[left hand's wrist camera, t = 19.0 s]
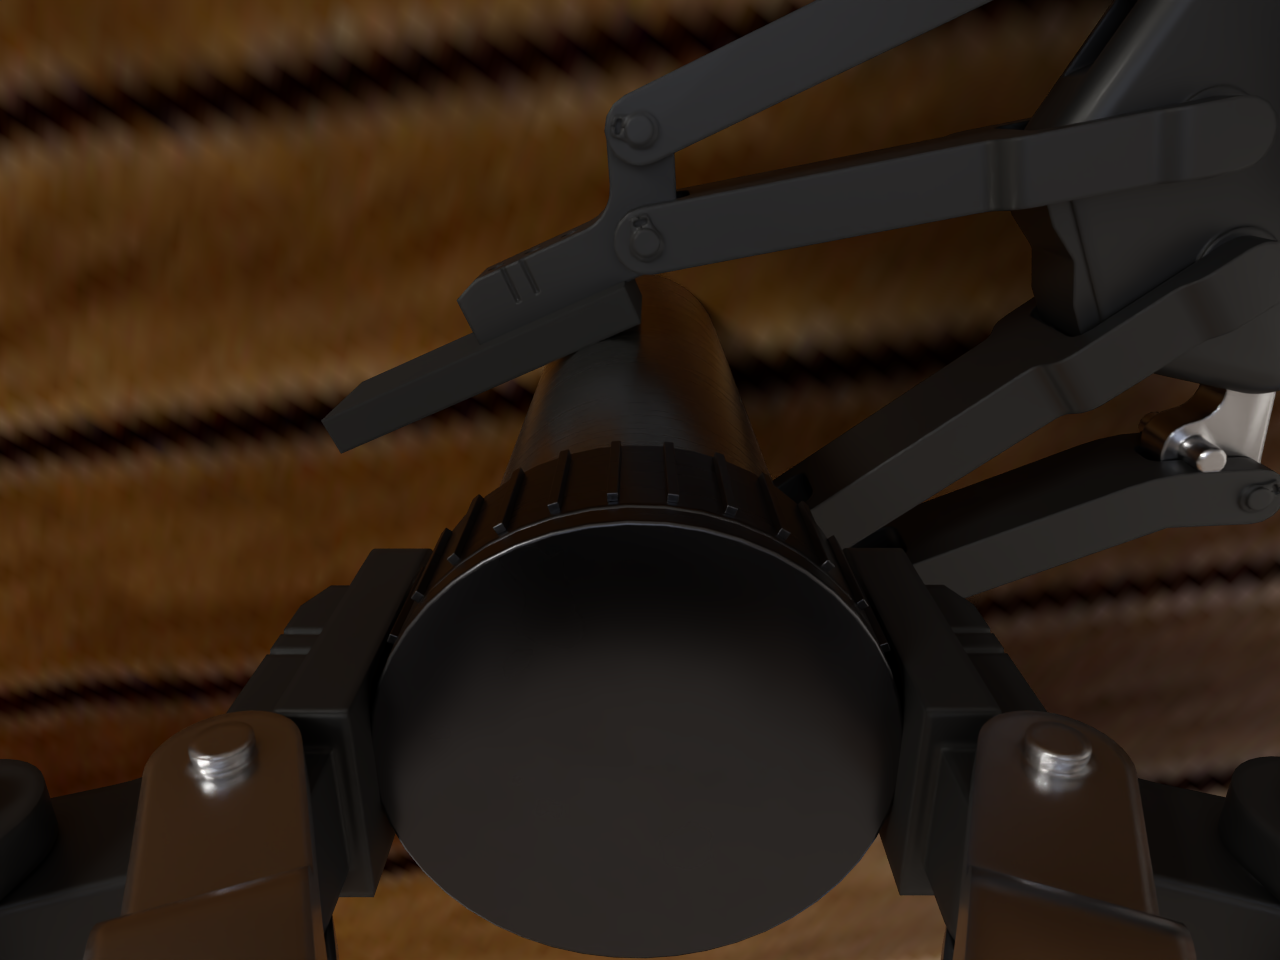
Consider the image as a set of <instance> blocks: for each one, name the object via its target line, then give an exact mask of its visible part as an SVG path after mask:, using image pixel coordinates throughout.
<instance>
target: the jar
mask: <svg viewBox="0 0 1280 960" xmlns="http://www.w3.org/2000/svg"><path fill="white" fill-rule="evenodd" d="M635 281H636V283H637V285H638V288H639V290H640V292H641V294H642V310H641V324H638V325H636V326H634V327H632V328H629V329H627V330H625V331H622V332H620V333H618V334H615V335H613V336H611V337H609V338H606V339H604V340H602V341H599V342H597V343H594V344H591V345H589V346H587V347H585V348H583V349H581V350H579V351H576V352H574V353H572V354H569V355H567V356H565V357H563V358H560V359H558V360H556V361H553V362H551V363H549V364H546V365H545V368H544V370H543V373H542V376H541V378H540V381H539V384H538V386H537V389H536V392H535V394H534V397H533V400H532V402H531V405H530V408H529V410H528V413H527V416H526V418H525V421H524V424H523V426H522V429H521V432H520V434H519V437H518V440H517V442H516V445H515V447H514V450H513V453H512V455H511V458H510V461H509V463H508V466H507V469H506V471H505V474H504V477H503V479H502V482H501V485H503V484H504V483H506V482H507V481H509V480H510V479H511V476H512V473H513V471H515V470H517V469H519V468H522V470H523V471H524V472H526V471H528V470H530V469H532V468H534V467H535V466H537V465H540V464H543V463H546V462H548V461H551V460H554V459H557V458H559V454H560V451H564V450H567V449H569V451H570V453H571V454H573V453H578V452H582V451H587V450H592V449H596V448H605V447H611V442H612V441H621V446H626V445H639V446H663V444H664V442H672V443H674V448H676V449H682V450H689V451H694V452H697V453H701V454H704V455H708V456H711V457H713V456H714V454H715V452H717V453H720V454H723V455H724V456H725V460H726V461H727V462H729V463H731V464H734V465H736V466H738V467H740V468H743V469H745V470H747V471H750V472H752V473H753V474H755V475H757V476H758V477H759V476H760V474H761V473H762V472H763V473H765V474H767V475H768V476H770V474H769V471H768V468H767V466H766V463H765V460H764V458H763V455H762V453H761V450H760V447H759V445H758V442H757V439H756V437H755V434H754V431H753V429H752V426H751V423H750V421H749V418H748V415H747V413H746V410H745V407H744V405H743V402H742V399H741V397H740V394H739V391H738V389H737V386H736V383H735V381H734V378H733V375H732V373H731V370H730V368H729V365H728V362H727V360H726V357H725V354H724V352H723V349H722V346H721V344H720V341H719V338H718V336H717V333H716V330H715V328H714V325H713V323H712V321H711V318H710V316H709V315H708V313H707V311H706V310H705V308H704V307H703V305H702V304H701V303H700V302H699V301H698V299H697V298H696V297H695V296H693V295H692V294H691V293H690V292H689V291H688V290H686V289H685V288H684V287H682V286H681V285H679V284H677V283H675V282H673V281H671V280H669V279H666V278H663V277H661V276H656V275H642V276H640V277H637V278H635ZM770 478H771V476H770ZM771 481H772V479H771ZM772 484H773V482H772ZM501 485H500V486H501ZM773 486H774V484H773Z"/></svg>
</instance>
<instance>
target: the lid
mask: <svg viewBox="0 0 1280 960" xmlns="http://www.w3.org/2000/svg"><path fill="white" fill-rule="evenodd" d="M387 642H388V643H391V644H393V645H394V646H393V648H392V650H391V652H390V654H389V657H388V659H387V661H386V664H385V666H384V669H383V671H382V674H381V676H380V678H379V681H378V684H377V688H376V692H375V697H374V701H373V705H372V710H371V733H372V743H373V750H374V757H375V765H376V772H377V780H378V787H379V793H380V799H381V804H382V806H383V808H384V811H385V813H386V815H387V818H388V820H389V822H390V825H391V826H392V828H393V830H394V831H395V833H396V835H397V836H398V838H399V839H400V841H401V843H402V844H403V846H404V848H405V849H406V850H407V852H408V853H409V854H410V855H411V857H412V858H413V859H414V860H415V862H416V863H417V864H418V865H419V866H420V868H421V869H422V870H423V871H424V872H425V873H426V874H427V875H428V876H429V877H430V878H431V879H432V880H433V881H434V882H435V883H436V884H437V885H438V886H439V887H440V888H441V889H442V890H444V891H445V892H446V893H447V894H448V895H450V896H451V897H453V898H454V899H455V900H457V901H458V902H459V903H461V904H462V905H463V906H465V907H466V908H467V909H469V910H470V911H472V912H474V913H475V914H477V915H479V916H481V917H482V918H484V919H486V920H487V921H489V922H491V923H493V924H494V925H496V926H499V927H501V928H503V929H505V930H507V931H510V932H512V933H514V934H516V935H519V936H521V937H523V938H526V939H529V940H532V941H535V942H539V943H542V944H545V945H548V946H551V947H555V948H559V949H564V950H568V951H573V952H577V953H582V954H589V955H598V956H606V957H618V958H654V957H668V956H679V955H684V954H690V953H696V952H702V951H708V950H711V949H715V948H718V947H722V946H726V945H729V944H733V943H737V942H739V941H742V940H745V939H747V938H750V937H752V936H755V935H758V934H760V933H763V932H765V931H767V930H769V929H771V928H773V927H775V926H777V925H779V924H781V923H783V922H785V921H787V920H789V919H791V918H793V917H794V916H796V915H797V914H799V913H800V912H802V911H803V910H805V909H806V908H808V907H809V906H811V905H812V904H814V903H815V902H817V901H818V900H819V899H821V898H822V897H823V896H824V895H825V894H826V893H828V892H829V891H830V890H831V889H832V888H834V887H835V886H836V885H837V884H838V883H840V882H841V880H842V879H843V878H844V877H845V876H846V875H847V874H848V873H849V872H850V871H851V870H852V869H853V868H854V866H855V865H856V864H857V863H858V862H859V861H860V860H861V858H862V857H863V856H864V854H865V853H866V851H867V850H868V848H869V847H870V846H871V844H872V843H873V841H874V840H875V839H876V837H877V835H878V833H879V831H880V829H881V827H882V825H883V824H884V822H885V820H886V818H887V816H888V814H889V812H890V809H891V806H892V803H893V800H894V794H895V788H896V781H897V773H898V766H899V758H900V751H901V743H902V734H903V713H902V706H901V700H900V695H899V692H898V689H897V686H896V683H895V680H894V676H893V673H892V670H891V668H890V665H889V663H888V661H887V659H886V657H885V655H884V653H885V652H888V651H890V647H889V644H888V642H887V640H886V638H885V636H884V633H883V631H882V629H881V627H880V625H879V623H878V621H877V619H876V617H875V615H874V612H873V610H872V608H871V606H870V604H869V602H868V600H867V598H866V596H865V594H864V592H863V589H862V587H861V585H860V583H859V581H858V579H857V577H856V575H855V574H853V572H852V570H851V568H850V565H849V563H848V561H847V559H846V557H845V555H844V553H843V551H842V549H841V546H840V544H839V542H838V540H837V539H836V538H835V536H834V535H832V536H831V537H829V538H827V537H826V536H825V534H824V533H823V531H822V530H821V528H820V527H819V526H818V525H817V524H816V522H815V520H814V517H813V515H812V513H811V511H810V508H809V506H808V505H807V504H806V503H805V502H804V501H801V502H800V503H799V504H797V503H796V502H794V501H793V500H792V499H791V498H789V497H788V496H787V495H786V494H784V493H783V492H782V491H781V490H779V489H778V488H777V487H775V486H773V484H772V481H771V478H770V476H768V475H767V474H765V473H763V472H762V473H761V474H760V476H759V477H758V476H757V475H755V474H753V473H752V472H750V471H747V470H745V469H743V468H740V467H738V466H736V465H734V464H731V463H729V462H727V461H726V460H725V456H724V455H723V454H720V453H717V452H715V454H714V456H713V457H711V456H708V455H704V454H701V453H697V452H694V451H689V450H682V449H676V448H674V443H672V442H664V444H663V446H639V445H626V446H621V441H612V442H611V447H605V448H596V449H592V450H587V451H582V452H578V453H573V454H571V453H570V451H569V449H567V450H564V451H560V454H559V458H557V459H554V460H551V461H548V462H546V463H543V464H540V465H537V466H535V467H534V468H532V469H530V470H528V471H526V472H524V471H523V470H522V468H519V469H517V470H515V471H513V473H512V476H511V479H510V480H509V481H507V482H506V483H504V484H503V485H501V486H500V487H499V488H497V489H496V490H494V491H493V492H491V493H490V494H488V495H487V496H486V497H485V498H483V497H482V496H481V495H480V494H479V495H478V496H476V497H475V498H474V499H473V500H472V503H471V505H470V507H469V510H468V512H467V514H466V515H465V516H464V517H463V519H462V520H461V521H460V522H459V523H458V525H457V526H456V527H455V528H454V530H453V531H450V530H449V529H447V528H445V530H444V531H443V532H442V534H441V536H440V538H439V540H438V542H437V544H436V546H435V548H434V550H433V553H432V555H431V557H430V559H429V561H428V563H427V565H426V567H424V566H423V567H422V569H421V571H420V573H419V575H418V577H417V579H416V581H415V583H414V585H413V587H412V589H411V591H410V593H409V596H408V598H407V600H406V602H405V604H404V606H403V608H402V610H401V612H400V614H399V616H398V618H397V620H396V622H395V624H394V626H393V628H392V630H391V633H390V635H389V637H388V639H387Z"/></svg>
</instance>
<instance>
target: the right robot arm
mask: <svg viewBox="0 0 1280 960" xmlns="http://www.w3.org/2000/svg"><path fill="white" fill-rule="evenodd" d="M990 1H992V0H816V1H814V2H812V3H810V4H808V5H806V6H804V7H802V8H800V9H798V10H796V11H794V12H792V13H790V14H788V15H786V16H784V17H782V18H780V19H778V20H776V21H774V22H772V23H770V24H768V25H766V26H764V27H762V28H759V29H757V30H755V31H753V32H751V33H749V34H747V35H745V36H743V37H741V38H739V39H737V40H735V41H733V42H731V43H729V44H727V45H725V46H723V47H721V48H719V49H717V50H715V51H713V52H711V53H709V54H707V55H705V56H703V57H701V58H699V59H697V60H695V61H693V62H691V63H689V64H687V65H685V66H683V67H681V68H679V69H677V70H675V71H673V72H671V73H669V74H667V75H665V76H663V77H661V78H659V79H657V80H655V81H653V82H650V83H648V84H646V85H644V86H642V87H640V88H638V89H636V90H634V91H632V92H630V93H628V94H626V95H624V96H623V97H622V98H621V99H619V100H618V101H617V102H615V103H614V104H613V106H612V108H611V109H610V111H609V113H608V115H607V117H606V124H605V135H606V139H607V152H608V166H609V179H610V197H609V200H608V204H607V206H606V207H605V209H604V210H603V211H602V212H601V213H600V214H599V215H598V216H597V217H595V218H594V219H592V220H591V221H589V222H587V223H584V224H582V225H580V226H578V227H576V228H574V229H571V230H569V231H567V232H565V233H563V234H560V235H558V236H556V237H554V238H552V239H550V240H547V241H545V242H543V243H541V244H539V245H537V246H534V247H532V248H530V249H528V250H526V251H523V252H521V253H519V254H517V255H515V256H513V257H511V258H508V259H506V260H504V261H502V262H499V263H497V264H495V265H493V266H491V267H489V268H487V269H486V270H485V271H484V272H483V273H482V274H481V275H480V276H479V277H478V278H476V279H475V280H474V282H473V283H472V284H471V285H470V286H469V287H468V288H467V289H466V290H465V292H464V293H463V294H462V295H461V296H460V297H459V298H458V299H457V302H458V304H459V306H460V308H461V310H462V312H463V314H464V315H465V317H466V319H467V321H468V323H469V325H470V327H471V329H472V331H473V333H471V334H469V335H466V336H464V337H462V338H460V339H457V340H455V341H453V342H451V343H448V344H446V345H444V346H442V347H440V348H437V349H435V350H433V351H431V352H428V353H426V354H424V355H422V356H419V357H417V358H415V359H413V360H410V361H408V362H406V363H404V364H402V365H399V366H397V367H395V368H393V369H390V370H388V371H386V372H384V373H381V374H379V375H377V376H375V377H372V378H370V379H368V380H366V381H364V382H362V383H361V384H360V385H359V386H358V387H356V388H355V389H354V390H353V391H352V392H351V393H350V394H349V395H348V396H347V397H346V398H345V399H344V400H343V401H342V402H341V403H340V404H338V405H337V406H336V407H335V408H334V409H333V410H332V411H331V412H330V413H329V414H328V415H327V416H326V417H325V418H324V419H323V420H322V423H323V424H324V426H325V428H326V429H327V431H328V433H329V434H330V436H331V438H332V439H333V441H334V443H335V444H336V446H337V448H338V449H339V451H340V453H344V452H346V451H348V450H351V449H353V448H355V447H358V446H360V445H362V444H364V443H367V442H369V441H371V440H374V439H376V438H378V437H381V436H383V435H385V434H388V433H390V432H392V431H394V430H397V429H399V428H401V427H404V426H406V425H408V424H411V423H413V422H415V421H417V420H420V419H422V418H424V417H427V416H429V415H431V414H434V413H436V412H438V411H440V410H443V409H445V408H447V407H450V406H452V405H454V404H457V403H459V402H461V401H463V400H466V399H468V398H470V397H473V396H475V395H477V394H480V393H482V392H484V391H487V390H489V389H491V388H493V387H496V386H498V385H500V384H503V383H505V382H507V381H510V380H512V379H514V378H516V377H519V376H521V375H523V374H526V373H528V372H530V371H533V370H535V369H537V368H539V367H542V366H544V365H546V364H549V363H551V362H553V361H556V360H558V359H560V358H563V357H565V356H567V355H569V354H572V353H574V352H576V351H579V350H581V349H583V348H585V347H587V346H589V345H591V344H594V343H597V342H599V341H602V340H604V339H606V338H609V337H611V336H613V335H615V334H618V333H620V332H622V331H625V330H627V329H629V328H632V327H634V326H636V325H638V324H641V310H642V294H641V292H640V290H639V288H638V285H637V283H636V281H635V278H637V277H640V276H642V275H654V274H659V273H664V272H670V271H675V270H680V269H685V268H691V267H696V266H701V265H707V264H712V263H717V262H723V261H728V260H733V259H738V258H744V257H749V256H754V255H760V254H765V253H770V252H775V251H781V250H786V249H791V248H797V247H802V246H807V245H812V244H818V243H823V242H828V241H834V240H839V239H844V238H850V237H855V236H860V235H865V234H871V233H876V232H881V231H887V230H892V229H897V228H902V227H908V226H913V225H918V224H924V223H929V222H934V221H940V220H945V219H950V218H955V217H961V216H966V215H971V214H977V213H982V212H989V211H1010V210H1011V213H1012V216H1013V217H1014V219H1015V220H1016V222H1017V224H1018V225H1019V227H1020V228H1021V230H1022V232H1023V233H1024V235H1025V236H1026V238H1027V240H1028V241H1029V243H1030V245H1031V247H1032V290H1033V293H1034V297H1033V298H1032V299H1030V300H1029V301H1027V302H1026V303H1024V304H1023V305H1021V306H1020V307H1018V308H1017V309H1015V310H1014V311H1012V312H1011V313H1009V314H1008V315H1006V316H1005V317H1004V318H1002V319H1001V320H1000V321H998V323H997V324H996V325H995V326H994V327H993V330H992V332H991V335H990V336H989V337H988V338H987V339H986V340H984V341H983V342H981V343H980V344H978V345H977V346H975V347H974V348H972V349H971V350H969V351H968V352H966V353H965V354H963V355H962V356H960V357H959V358H957V359H956V360H954V361H953V362H951V363H950V364H948V365H947V366H945V367H944V368H942V369H941V370H939V371H938V372H936V373H935V374H933V375H932V376H930V377H929V378H927V379H926V380H924V381H923V382H921V383H919V384H918V385H916V386H915V387H913V388H912V389H910V390H909V391H907V392H906V393H904V394H903V395H901V396H900V397H898V398H897V399H895V400H894V401H892V402H891V403H889V404H888V405H886V406H885V407H883V408H882V409H880V410H879V411H877V412H876V413H874V414H873V415H871V416H870V417H868V418H867V419H865V420H864V421H862V422H861V423H859V424H858V425H856V426H855V427H853V428H852V429H850V430H849V431H847V432H845V433H844V434H842V435H841V436H839V437H838V438H836V439H835V440H833V441H832V442H830V443H829V444H827V445H826V446H824V447H823V448H821V449H820V450H818V451H817V452H815V453H814V454H812V455H811V456H809V457H808V458H806V459H805V460H803V461H802V462H800V463H799V464H797V465H796V466H794V467H793V468H791V469H790V470H788V471H787V472H785V473H784V474H782V475H781V476H779V477H778V478H776V479H774V480H773V481H772V482H773V484H774V486H775V487H777V488H778V489H779V490H781V491H782V492H783V493H784V494H786V495H787V496H788V497H789V498H791V499H792V500H793V501H794V502H796V503H797V504H799V503H800V502H801V501H804V502H805V503H806V504H807V505H808V506H809V508H810V511H811V513H812V515H813V517H814V520H815V522H816V524H817V525H818V526H819V527H820V528H821V530H822V531H823V533H824V534H825V536H826V537H827V538H829V537H831V536H832V535H834V536H835V538H836V539H837V540H838V542H839V544H840V546H841V549H842V550H843V549H844V548H902V549H903V550H904V552H905V553H906V555H907V556H908V558H909V560H910V561H911V563H912V565H913V566H914V568H915V569H916V571H917V573H918V574H919V576H920V578H921V579H922V581H923V583H924V584H925V585H945V586H947V587H948V588H950V589H951V590H953V591H954V592H955V593H957V594H958V595H960V596H961V597H963V598H967V597H969V596H972V595H975V594H978V593H981V592H984V591H987V590H990V589H993V588H995V587H998V586H1001V585H1004V584H1007V583H1010V582H1013V581H1016V580H1018V579H1021V578H1024V577H1027V576H1030V575H1033V574H1036V573H1039V572H1041V571H1044V570H1047V569H1050V568H1053V567H1056V566H1059V565H1062V564H1064V563H1067V562H1070V561H1073V560H1076V559H1079V558H1082V557H1085V556H1087V555H1090V554H1093V553H1096V552H1099V551H1102V550H1105V549H1108V548H1110V547H1113V546H1116V545H1119V544H1122V543H1125V542H1128V541H1131V540H1133V539H1136V538H1139V537H1142V536H1145V535H1148V534H1151V533H1154V532H1156V531H1159V530H1162V529H1165V528H1172V527H1194V526H1216V525H1238V524H1252V523H1257V522H1262V521H1264V520H1266V519H1267V518H1269V517H1271V516H1273V515H1274V514H1275V513H1276V512H1277V511H1278V510H1279V509H1280V475H1279V474H1277V473H1276V472H1274V471H1273V470H1271V469H1269V468H1267V467H1266V466H1264V465H1262V464H1261V456H1262V452H1263V447H1264V443H1265V438H1266V434H1267V429H1268V425H1269V420H1270V416H1271V411H1272V407H1273V402H1274V398H1275V393H1276V391H1279V390H1280V0H1113V2H1112V3H1111V5H1110V6H1109V8H1108V9H1107V11H1106V12H1105V13H1104V15H1103V16H1102V18H1101V19H1100V21H1099V22H1098V23H1097V25H1096V26H1095V28H1094V29H1093V31H1092V32H1091V33H1090V35H1089V36H1088V38H1087V39H1086V41H1085V42H1084V44H1083V45H1082V46H1081V48H1080V49H1079V51H1078V52H1077V54H1076V55H1075V56H1074V58H1073V59H1072V61H1071V62H1070V64H1069V65H1068V67H1067V68H1066V69H1065V71H1064V72H1063V74H1062V75H1061V77H1060V78H1059V79H1058V81H1057V82H1056V84H1055V85H1054V87H1053V88H1052V89H1051V91H1050V92H1049V94H1048V95H1047V97H1046V98H1045V99H1044V101H1043V102H1042V104H1041V105H1040V107H1039V108H1038V109H1037V111H1036V112H1035V114H1034V115H1033V117H1032V118H1027V119H1022V120H1017V121H1012V122H1007V123H1002V124H997V125H992V126H987V127H982V128H976V129H971V130H966V131H962V132H957V133H953V134H950V135H948V136H945V137H941V138H936V139H931V140H926V141H921V142H916V143H911V144H906V145H901V146H896V147H891V148H885V149H880V150H875V151H870V152H865V153H860V154H855V155H850V156H845V157H840V158H835V159H829V160H824V161H819V162H814V163H809V164H804V165H799V166H794V167H789V168H784V169H778V170H773V171H768V172H763V173H758V174H753V175H748V176H743V177H738V178H733V179H728V180H722V181H717V182H712V183H707V184H702V185H697V186H692V187H687V188H682V189H677V190H676V181H675V160H674V153H675V152H677V151H679V150H681V149H683V148H685V147H687V146H689V145H692V144H694V143H696V142H698V141H700V140H702V139H704V138H706V137H708V136H710V135H712V134H715V133H717V132H719V131H721V130H723V129H725V128H727V127H729V126H731V125H733V124H735V123H738V122H740V121H742V120H744V119H746V118H748V117H750V116H752V115H754V114H756V113H758V112H760V111H763V110H765V109H767V108H769V107H771V106H773V105H775V104H777V103H779V102H781V101H783V100H786V99H788V98H790V97H792V96H794V95H796V94H798V93H800V92H802V91H804V90H806V89H809V88H811V87H813V86H815V85H817V84H819V83H821V82H823V81H825V80H827V79H829V78H832V77H834V76H836V75H838V74H840V73H842V72H844V71H846V70H848V69H850V68H852V67H854V66H857V65H859V64H861V63H863V62H865V61H867V60H869V59H871V58H873V57H875V56H877V55H880V54H882V53H884V52H886V51H888V50H890V49H892V48H894V47H896V46H898V45H900V44H903V43H905V42H907V41H909V40H911V39H913V38H915V37H917V36H919V35H921V34H923V33H925V32H928V31H930V30H932V29H934V28H936V27H938V26H940V25H942V24H944V23H946V22H948V21H951V20H953V19H955V18H957V17H959V16H961V15H963V14H965V13H967V12H969V11H971V10H974V9H976V8H978V7H980V6H982V5H984V4H986V3H988V2H990ZM1153 373H1154V374H1159V375H1163V376H1168V377H1172V378H1177V379H1181V380H1186V381H1191V382H1195V383H1200V385H1199V388H1198V389H1197V391H1196V392H1195V394H1194V395H1193V396H1192V397H1191V398H1190V399H1189V400H1188V401H1187V402H1185V403H1183V404H1182V405H1180V406H1178V407H1175V408H1171V409H1168V410H1165V411H1161V412H1160V413H1159V412H1150V413H1148V414H1146V415H1145V416H1144V417H1143V418H1142V419H1141V420H1140V423H1139V432H1140V433H1132V434H1122V435H1117V436H1112V437H1107V438H1102V439H1098V440H1095V441H1092V442H1088V443H1085V444H1082V445H1079V446H1076V447H1073V448H1071V449H1068V450H1065V451H1063V452H1060V453H1057V454H1054V455H1052V456H1049V457H1046V458H1043V459H1041V460H1038V461H1035V462H1033V463H1030V464H1027V465H1024V466H1022V467H1019V468H1016V469H1014V470H1011V471H1008V472H1005V473H1003V474H1000V475H997V476H995V477H992V478H989V479H986V480H984V481H981V482H978V483H975V484H973V485H970V486H967V487H965V488H962V489H959V490H956V491H954V492H951V493H948V494H946V495H943V496H940V497H937V498H935V499H932V500H929V501H927V502H924V503H922V502H923V501H925V500H926V499H928V498H930V497H931V496H933V495H934V494H936V493H938V492H939V491H941V490H942V489H944V488H946V487H947V486H949V485H950V484H952V483H954V482H955V481H957V480H958V479H960V478H962V477H963V476H965V475H966V474H968V473H970V472H971V471H973V470H974V469H976V468H978V467H979V466H981V465H982V464H984V463H986V462H987V461H989V460H990V459H992V458H994V457H995V456H997V455H998V454H1000V453H1002V452H1003V451H1005V450H1006V449H1008V448H1010V447H1011V446H1013V445H1014V444H1016V443H1018V442H1019V441H1021V440H1022V439H1024V438H1026V437H1027V436H1029V435H1030V434H1032V433H1034V432H1035V431H1037V430H1038V429H1040V428H1042V427H1043V426H1045V425H1046V424H1048V423H1050V422H1051V421H1053V420H1054V419H1056V418H1058V417H1060V416H1063V415H1066V414H1075V413H1084V412H1087V411H1090V410H1093V409H1095V408H1097V407H1099V406H1101V405H1103V404H1104V403H1106V402H1108V401H1109V400H1111V399H1113V398H1114V397H1116V396H1117V395H1119V394H1121V393H1122V392H1124V391H1125V390H1127V389H1129V388H1130V387H1132V386H1133V385H1135V384H1137V383H1138V382H1140V381H1141V380H1143V379H1145V378H1146V377H1148V376H1150V375H1151V374H1153ZM920 503H921V504H920Z"/></svg>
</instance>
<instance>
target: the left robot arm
mask: <svg viewBox="0 0 1280 960" xmlns="http://www.w3.org/2000/svg"><path fill="white" fill-rule="evenodd" d="M842 551H843V553H844V555H845V557H846V559H847V561H848V563H849V565H850V568H851V570H852V572H853V574H855V575H856V577H857V579H858V581H859V583H860V585H861V587H862V589H863V592H864V594H865V596H866V598H867V600H868V602H869V604H870V606H871V608H872V610H873V612H874V615H875V617H876V619H877V621H878V623H879V625H880V627H881V629H882V631H883V633H884V636H885V638H886V640H887V642H888V644H889V647H890V651H888V652H885V653H884V655H885V657H886V659H887V661H888V663H889V665H890V668H891V670H892V673H893V676H894V680H895V683H896V686H897V689H898V692H899V695H900V700H901V706H902V713H903V734H902V743H901V751H900V758H899V766H898V773H897V781H896V788H895V794H894V800H893V803H892V806H891V809H890V812H889V814H888V816H887V818H886V820H885V822H884V824H883V825H882V827H881V829H880V831H879V834H880V837H881V840H882V843H883V846H884V849H885V852H886V855H887V858H888V861H889V864H890V867H891V870H892V873H893V876H894V879H895V882H896V885H897V888H898V891H899V894H900V895H935V898H936V901H937V903H938V906H939V909H940V911H941V914H942V917H943V919H944V922H945V924H946V927H945V933H944V939H943V945H942V954H941V960H1280V757H1272V756H1270V757H1259V758H1255V759H1251V760H1248V761H1246V762H1244V763H1242V764H1240V765H1239V766H1238V767H1237V768H1236V769H1235V771H1234V773H1233V776H1232V779H1231V782H1230V785H1229V789H1228V792H1227V795H1226V797H1221V796H1216V795H1212V794H1207V793H1202V792H1197V791H1193V790H1188V789H1183V788H1178V787H1174V786H1169V785H1164V784H1159V783H1155V782H1151V781H1147V780H1143V779H1139V778H1138V777H1137V772H1136V769H1135V766H1134V764H1133V762H1132V760H1131V758H1130V757H1129V756H1128V754H1127V753H1126V752H1125V751H1124V750H1123V748H1121V747H1120V746H1119V745H1118V744H1117V743H1116V742H1115V741H1114V740H1112V739H1111V738H1109V737H1108V736H1106V735H1105V734H1104V733H1102V732H1100V731H1098V730H1097V729H1095V728H1093V727H1091V726H1089V725H1087V724H1085V723H1082V722H1080V721H1077V720H1075V719H1072V718H1069V717H1066V716H1062V715H1058V714H1054V713H1048V712H1047V711H1046V710H1045V708H1044V707H1043V705H1042V704H1041V702H1040V701H1039V699H1038V698H1037V696H1036V695H1035V693H1034V692H1033V691H1032V689H1031V688H1030V686H1029V685H1028V683H1027V682H1026V680H1025V679H1024V677H1023V676H1022V674H1021V673H1020V672H1019V670H1018V669H1017V667H1016V666H1015V664H1014V663H1013V661H1012V660H1011V658H1010V657H1009V655H1008V654H1007V653H1004V648H1003V647H1002V645H1001V644H1000V642H999V641H998V639H997V638H996V636H995V635H994V634H993V633H990V628H989V626H988V625H987V623H986V622H985V620H984V619H983V617H982V616H981V615H980V613H979V612H978V610H977V609H976V607H975V606H974V605H973V604H972V603H970V602H969V601H967V600H966V599H964V598H963V597H961V596H960V595H958V594H957V593H955V592H954V591H953V590H951V589H950V588H948V587H947V586H945V585H925V584H924V583H923V581H922V579H921V578H920V576H919V574H918V573H917V571H916V569H915V568H914V566H913V565H912V563H911V561H910V560H909V558H908V556H907V555H906V553H905V552H904V550H903V549H902V548H844V549H843V550H842ZM432 553H433V551H432V550H431V549H373V550H372V551H371V552H370V554H369V555H368V557H367V559H366V560H365V562H364V563H363V565H362V567H361V568H360V570H359V571H358V573H357V575H356V576H355V578H354V580H353V581H352V583H351V584H350V586H330V587H328V588H327V589H325V590H324V591H322V592H321V593H319V594H318V595H316V596H315V597H313V598H312V599H310V600H309V601H307V602H306V603H304V604H303V605H301V606H300V608H299V609H298V610H297V612H296V613H295V615H294V616H293V618H292V619H291V621H290V622H289V623H288V625H287V626H286V628H285V629H284V634H281V635H280V636H279V638H278V639H277V641H276V642H275V644H274V645H273V646H272V648H271V649H270V650H271V652H270V655H266V657H265V658H264V659H263V661H262V662H261V664H260V665H259V667H258V668H257V670H256V671H255V672H254V674H253V675H252V677H251V678H250V680H249V681H248V683H247V684H246V685H245V687H244V688H243V690H242V691H241V693H240V694H239V695H238V697H237V698H236V700H235V701H234V703H233V704H232V706H231V707H230V708H229V710H228V711H227V713H226V714H222V715H218V716H214V717H211V718H208V719H205V720H203V721H200V722H198V723H195V724H193V725H191V726H189V727H187V728H185V729H183V730H182V731H180V732H178V733H176V734H175V735H173V736H172V737H171V738H169V739H168V740H166V741H165V742H164V743H163V744H162V745H161V746H160V747H159V748H157V750H156V751H155V752H154V753H153V754H152V755H151V757H150V758H149V760H148V762H147V764H146V765H145V769H144V772H143V777H141V778H138V779H135V780H132V781H128V782H124V783H120V784H116V785H112V786H107V787H102V788H98V789H93V790H88V791H83V792H78V793H74V794H69V795H64V796H59V797H55V798H50V796H49V793H48V789H47V786H46V783H45V780H44V777H43V775H42V773H41V771H40V770H39V769H38V768H37V767H35V766H34V765H31V764H29V763H27V762H23V761H19V760H11V759H0V960H339V954H338V945H337V939H336V933H335V928H334V922H333V916H332V914H333V911H334V908H335V906H336V903H337V901H338V898H339V897H374V895H375V892H376V889H377V886H378V883H379V880H380V877H381V874H382V871H383V869H384V866H385V863H386V860H387V857H388V854H389V851H390V848H391V845H392V842H393V839H394V836H395V831H394V830H393V828H392V826H391V825H390V822H389V820H388V818H387V815H386V813H385V811H384V808H383V806H382V804H381V799H380V793H379V787H378V780H377V772H376V765H375V757H374V750H373V743H372V733H371V710H372V705H373V701H374V697H375V692H376V688H377V684H378V681H379V678H380V676H381V674H382V671H383V669H384V666H385V664H386V661H387V659H388V657H389V654H390V652H391V650H392V648H393V646H394V645H393V644H391V643H388V642H387V639H388V637H389V635H390V633H391V630H392V628H393V626H394V624H395V622H396V620H397V618H398V616H399V614H400V612H401V610H402V608H403V606H404V604H405V602H406V600H407V598H408V596H409V593H410V591H411V589H412V587H413V585H414V583H415V581H416V579H417V577H418V575H419V573H420V571H421V569H422V567H423V566H424V567H426V565H427V563H428V561H429V559H430V557H431V555H432Z"/></svg>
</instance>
